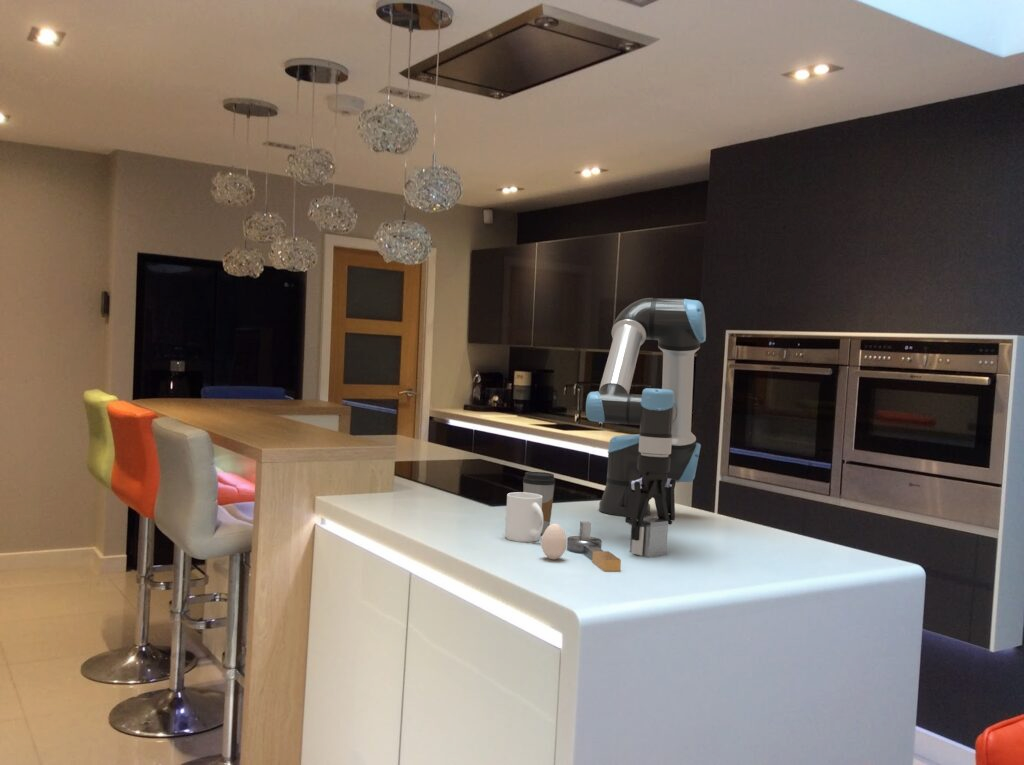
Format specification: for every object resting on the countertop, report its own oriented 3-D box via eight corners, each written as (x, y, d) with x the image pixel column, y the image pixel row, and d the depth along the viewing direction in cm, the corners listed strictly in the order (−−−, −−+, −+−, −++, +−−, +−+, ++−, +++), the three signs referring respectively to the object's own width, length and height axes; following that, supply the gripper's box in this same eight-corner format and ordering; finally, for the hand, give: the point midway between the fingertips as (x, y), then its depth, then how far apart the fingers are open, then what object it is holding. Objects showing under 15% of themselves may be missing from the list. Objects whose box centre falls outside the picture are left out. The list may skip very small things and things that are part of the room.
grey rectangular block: (647, 549, 204) (649, 516, 203) (666, 554, 199) (668, 520, 199) (629, 551, 200) (631, 518, 200) (648, 557, 195) (650, 522, 195)
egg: (557, 563, 184) (560, 527, 184) (536, 559, 187) (538, 523, 187) (569, 559, 189) (572, 523, 189) (548, 555, 192) (550, 520, 191)
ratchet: (594, 546, 204) (596, 519, 204) (630, 571, 181) (632, 540, 181) (562, 546, 202) (564, 518, 202) (594, 571, 179) (596, 540, 179)
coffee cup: (549, 537, 211) (553, 477, 211) (516, 534, 213) (520, 474, 212) (554, 531, 219) (558, 473, 219) (522, 528, 221) (526, 470, 221)
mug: (526, 546, 199) (529, 501, 199) (497, 536, 209) (500, 493, 209) (555, 544, 204) (558, 499, 204) (526, 534, 214) (528, 491, 213)
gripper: (670, 451, 208) (665, 545, 208) (612, 453, 196) (606, 553, 196) (694, 455, 202) (689, 551, 203) (636, 457, 190) (630, 560, 190)
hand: (648, 552), depth 199 cm, fingers open, 7 cm apart
